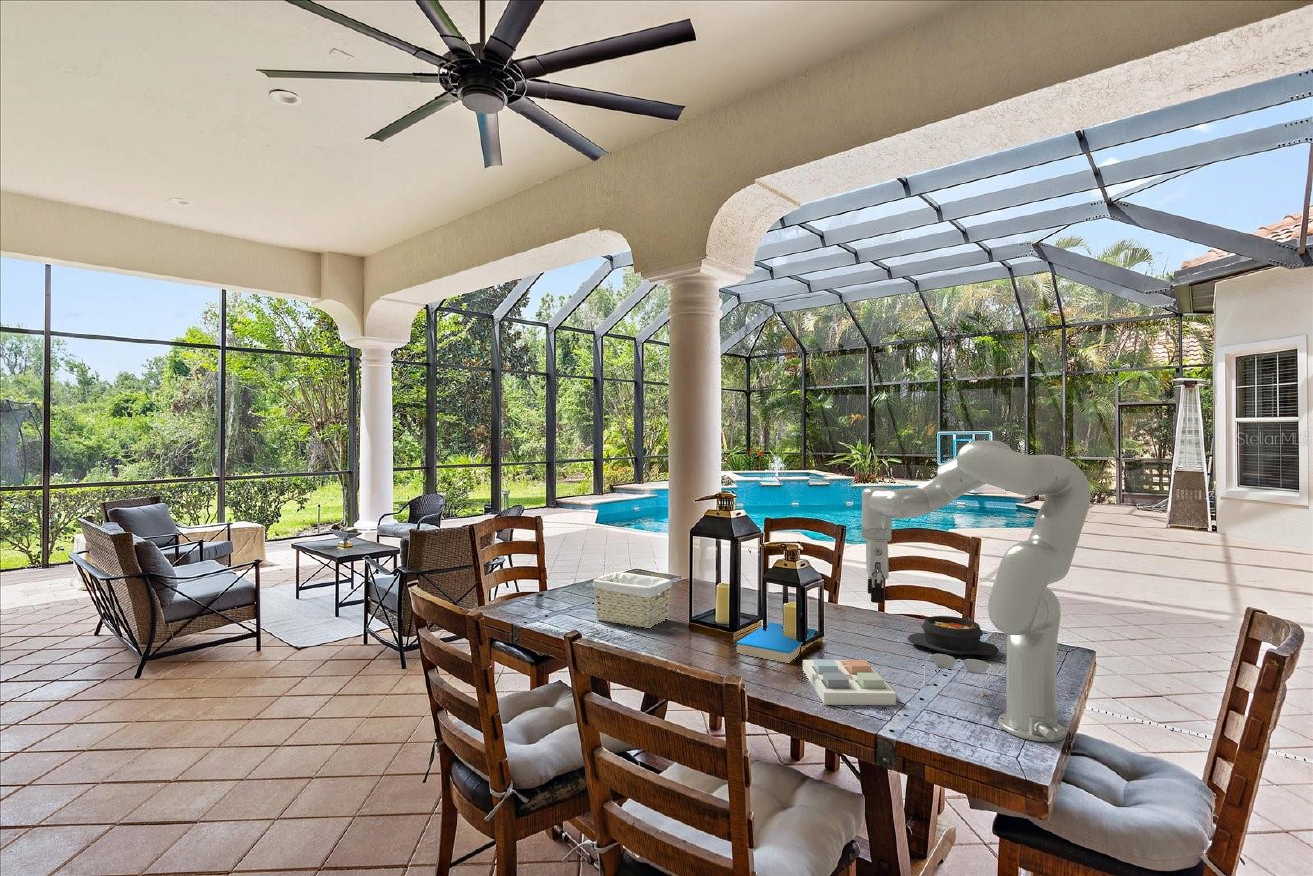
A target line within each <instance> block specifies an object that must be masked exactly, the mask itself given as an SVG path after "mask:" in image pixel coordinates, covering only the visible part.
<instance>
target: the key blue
mask: <svg viewBox="0 0 1313 876" xmlns="http://www.w3.org/2000/svg"><path fill="white" fill-rule="evenodd" d="M813 660H814V670H815V671H816V673H817V674H818V675H823V672H838V665H837V664H836V663H835V661H834V660H835V659H821V658H820V659H813Z"/></svg>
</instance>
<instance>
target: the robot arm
mask: <svg viewBox="0 0 1313 876" xmlns="http://www.w3.org/2000/svg"><path fill="white" fill-rule="evenodd" d="M985 485H990V486H993V487H995V488H998V489H1001V490H1005V491H1007V492H1012V493H1014V494H1018V495H1021V496H1026V497H1027V496H1029V497H1033V496H1034V497H1035V496H1043V495H1044V500H1043V502H1042V505H1041V507H1040V508H1039V510H1038V512H1037V514H1036V517H1035V521H1034V524H1033V526H1032V530H1031V533H1030V534H1029V537H1028V538H1027V540H1024V541H1020V542H1017V543H1015V544H1013V545H1012V546H1010V547H1009V548H1008V549H1007V550H1006V552H1005V553H1004V555H1003V556H1002V558H1001V560H1000V563H999V566H998V570H997V572H996V577H995V579H994V582H993V585H992V588H991V592H990V595H989V598H988V602H987V614H988V617H989V621H990V622H991V624H992V625H993V626H994V627H995V628H996V629H997V630H998V631H999V632H1001V633H1003V634H1005V635H1007V636H1006V649H1005V650H1006V651H1005V652H1006V653H1005V656H1006V657H1005V666H1006V667H1005V668H1006V669H1005V670H1006V671H1005V673H1006V674H1005V677H1006V678H1005V688H1006V689H1005V696H1006V697H1005V701H1006V702H1005V706H1006V707H1005V712H1004V713H1002V714H1000V715H999V716H998V719H997V720H998V722H997V723H998V726H999V727H1000V728H1001V730H1004V731H1005V732H1007V733H1009V734H1011V735H1013V736H1016V737H1019V738H1021V739H1025V740H1029V741H1033V742H1034V741H1035V742H1040V743H1041V742H1042V743H1053V742H1054V743H1055V742H1059V741H1062V740H1065V739H1064V738H1065V737H1066V730H1065V728H1064V727H1063V726H1062V725H1061V723H1058V721H1059V719H1058V717H1057V714H1058V712H1057V709H1058V707H1057V706H1058V705H1057V697H1058V695H1057V685H1058V684H1057V683H1058V682H1057V676H1058V675H1057V671H1058V670H1057V669H1058V668H1057V665H1058V663H1057V662H1058V637H1059V636H1058V635H1059V631H1060V623H1061V614H1062V613H1061V612H1062V611H1061V605H1060V602H1059V598H1058V597H1057V595H1056V594H1055V593H1054V591H1053V590H1051V589H1050V588H1049V587H1048V585H1051V584H1054V583H1057V582H1059V581H1061V580H1062V579H1064V578H1065V577H1066V576H1067V574H1068V573H1069V571H1070V568H1071V564H1072V562H1073V558H1074V555H1075V553H1076V549H1077V546H1078V543H1079V541H1080V537H1081V534H1082V531H1083V527H1084V525H1085V521H1086V519H1087V516H1088V512H1089V511H1090V510H1089V509H1090V506H1091V505H1090V504H1091V499H1092V497H1091V496H1092V495H1091V494H1092V493H1091V486H1090V483H1089V481H1088V478H1087V476H1086V475H1085V474H1084V471H1083V470H1082V469H1081V468H1080V467H1079V466H1077V464H1075V463H1074V462H1072V461H1071V460H1070V459H1067V458H1066V457H1063V456H1060V455H1055V454H1026V453H1022V452H1019V451H1015V450H1013V449H1012V448H1011V447H1010V446H1009V444H1006V443H1005V442H1003V441H999V440H991V439H990V440H986V439H985V440H983V439H981V440H973V441H969V442H967V443H966V444H964V445H963V446H962V447H961V448H960V449H959V451H958V452H957V455H956V456H955V457H953V458H951V459H949V460H947V461H946V462H943V463H942V464H940V465H938V467H937V468H936V476H934V477H933V478H931V479H930V480H928V481H926V482H924V483H922V484H920V485H917V486H916V487H908V488H897V489H890V488H887V487H879V486H878V487H876V486H874V487H870V486H868V487H865V488H864V489H863V490H862V492H861V540H863V541H865V563H866V573H867V575H868V578H867V594H869V595H870V601H871V603H873V604H874V603H875V604H884V603H885V587H884V579H885V580H888V579H889V576H890V575H889V548H888V546H889V545H888V542H891V541H892V523H893V522H892V519H895V520H901V519H902V520H903V519H909V518H917V517H921V516H922V517H923V516H925V515H927V514H929V513H932V512H934V511H936V510H939V509H940V508H943V507H945V506H948V505H949V504H950V503H953V502H954V501H955V500H958V498H959V497H961V496H963V495H964V494H967V493H969V492H971V491H974V490H975V489H978V488H980V487H982V486H985Z"/></svg>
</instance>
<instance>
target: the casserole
mask: <svg viewBox="0 0 1313 876" xmlns="http://www.w3.org/2000/svg"><path fill="white" fill-rule="evenodd" d="M921 628H922V630H923V632H915V633H912V634H910V635H908V637H907V640H908V641H909V642H910V643H911V644H914V645H917V646H920V647H925V648H928V649H931V650H933V651H935V652H938V653H940V654H943V655H948V656H970V655H979V656H992V655H995V654H997V653H998V652H999V651H1000V650H999V648H998V647H997V646H996V645H995V644H992V643H990V642H987V641H982V640H981V637H982V636H983V635H984V631H983V630H982V629H981V626H980V625H979V623H978V622H975V620H971V619H968V618H967V619H966V618H963V617H959V616H950V615H934V616H933V615H932V616H927V617H926V618H925V619H924V622H923V623H922V624H921Z"/></svg>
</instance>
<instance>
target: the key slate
mask: <svg viewBox="0 0 1313 876" xmlns="http://www.w3.org/2000/svg"><path fill="white" fill-rule="evenodd" d="M823 683H824V685H825V686H826V688H827V689H849V679H848V678H847V677H846V676H845V674H844V673H843V672H823Z"/></svg>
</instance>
